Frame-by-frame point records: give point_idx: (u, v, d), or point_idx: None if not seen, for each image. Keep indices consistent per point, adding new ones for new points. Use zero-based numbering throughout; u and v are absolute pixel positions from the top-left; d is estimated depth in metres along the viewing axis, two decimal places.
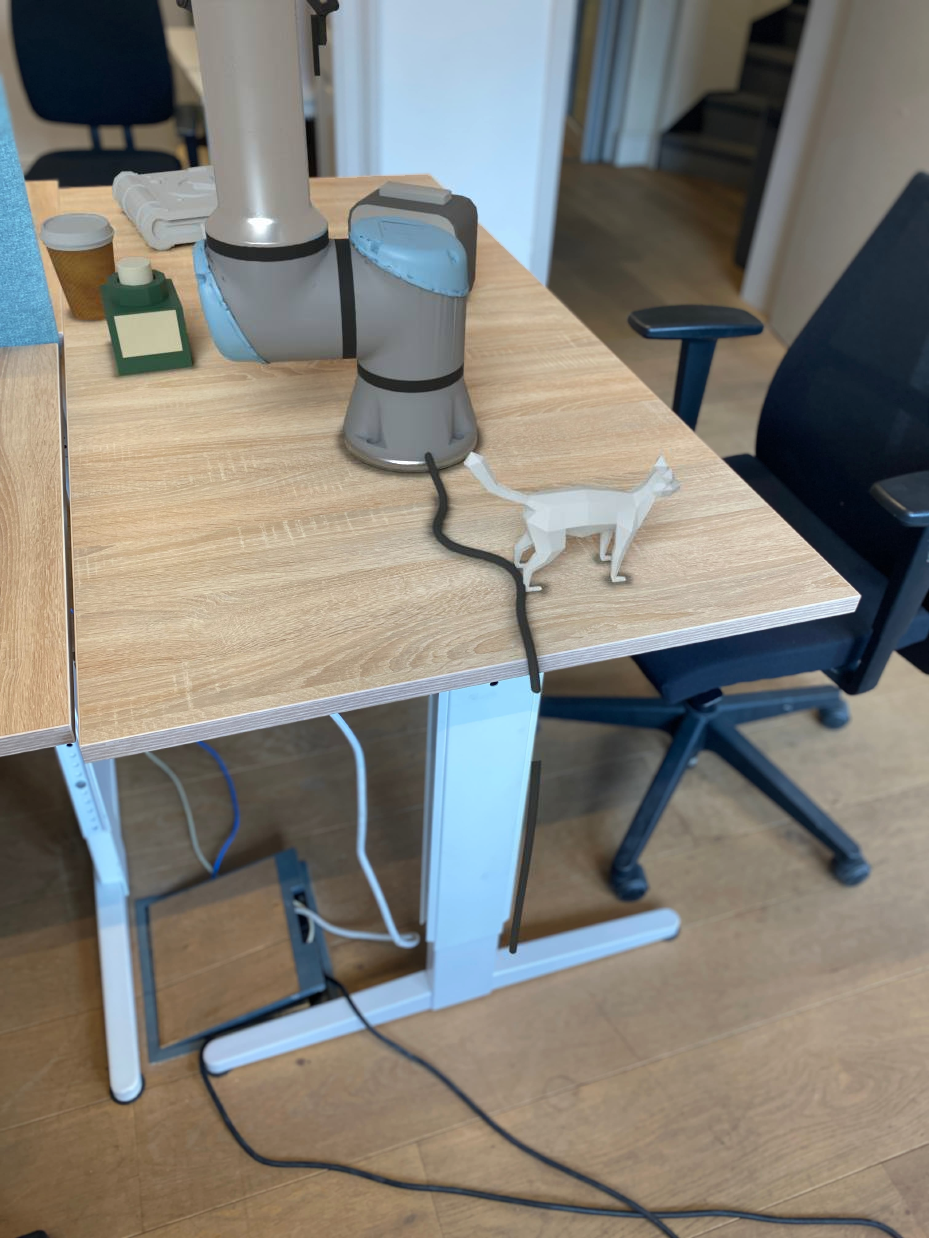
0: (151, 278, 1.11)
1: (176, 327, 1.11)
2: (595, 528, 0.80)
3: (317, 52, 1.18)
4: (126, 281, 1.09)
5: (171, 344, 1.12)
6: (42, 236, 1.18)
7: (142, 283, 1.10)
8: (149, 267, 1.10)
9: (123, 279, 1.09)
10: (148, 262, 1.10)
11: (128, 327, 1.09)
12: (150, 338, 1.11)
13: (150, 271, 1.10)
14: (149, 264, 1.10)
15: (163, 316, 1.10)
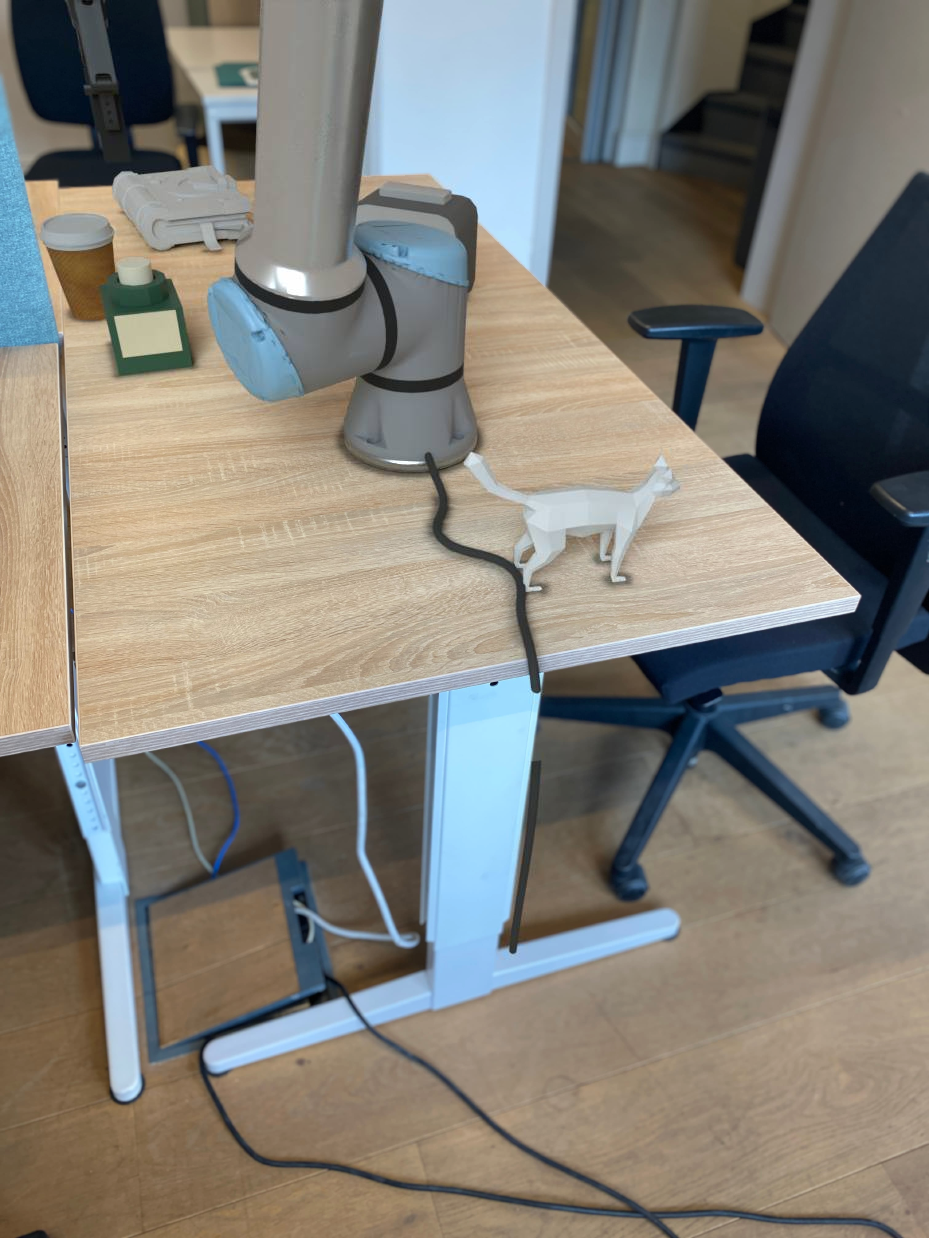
0: (151, 278, 1.11)
1: (176, 327, 1.11)
2: (595, 528, 0.80)
3: (100, 135, 0.95)
4: (126, 281, 1.09)
5: (171, 344, 1.12)
6: (42, 236, 1.18)
7: (142, 283, 1.10)
8: (149, 267, 1.10)
9: (123, 279, 1.09)
10: (148, 262, 1.10)
11: (128, 327, 1.09)
12: (150, 338, 1.11)
13: (150, 271, 1.10)
14: (149, 264, 1.10)
15: (163, 316, 1.10)
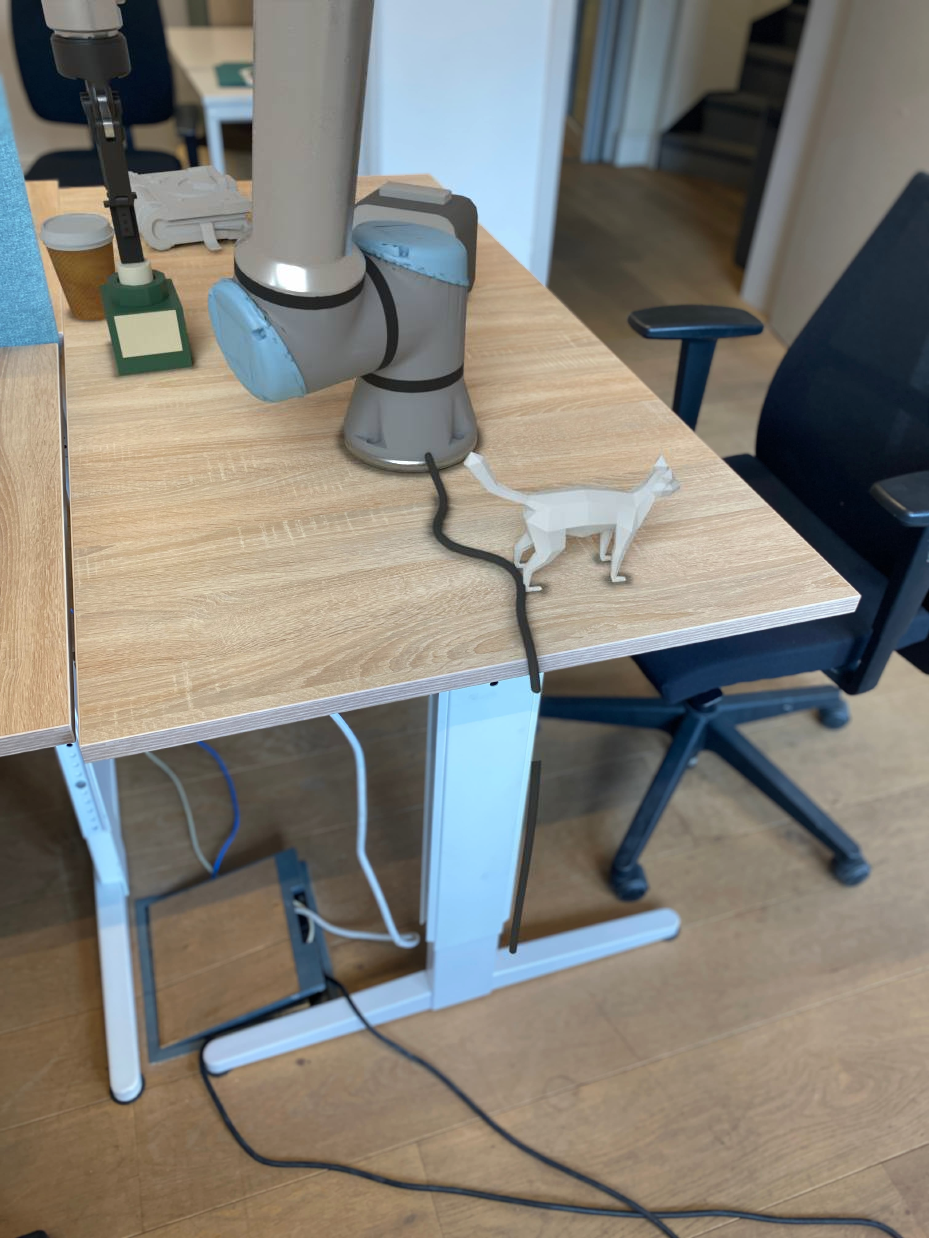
0: (151, 278, 1.11)
1: (176, 327, 1.11)
2: (595, 528, 0.80)
3: (116, 239, 1.07)
4: (126, 281, 1.09)
5: (171, 344, 1.12)
6: (42, 236, 1.18)
7: (142, 283, 1.10)
8: (149, 267, 1.10)
9: (123, 280, 1.09)
10: (148, 262, 1.10)
11: (128, 327, 1.09)
12: (150, 338, 1.11)
13: (150, 271, 1.10)
14: (149, 264, 1.10)
15: (163, 316, 1.10)
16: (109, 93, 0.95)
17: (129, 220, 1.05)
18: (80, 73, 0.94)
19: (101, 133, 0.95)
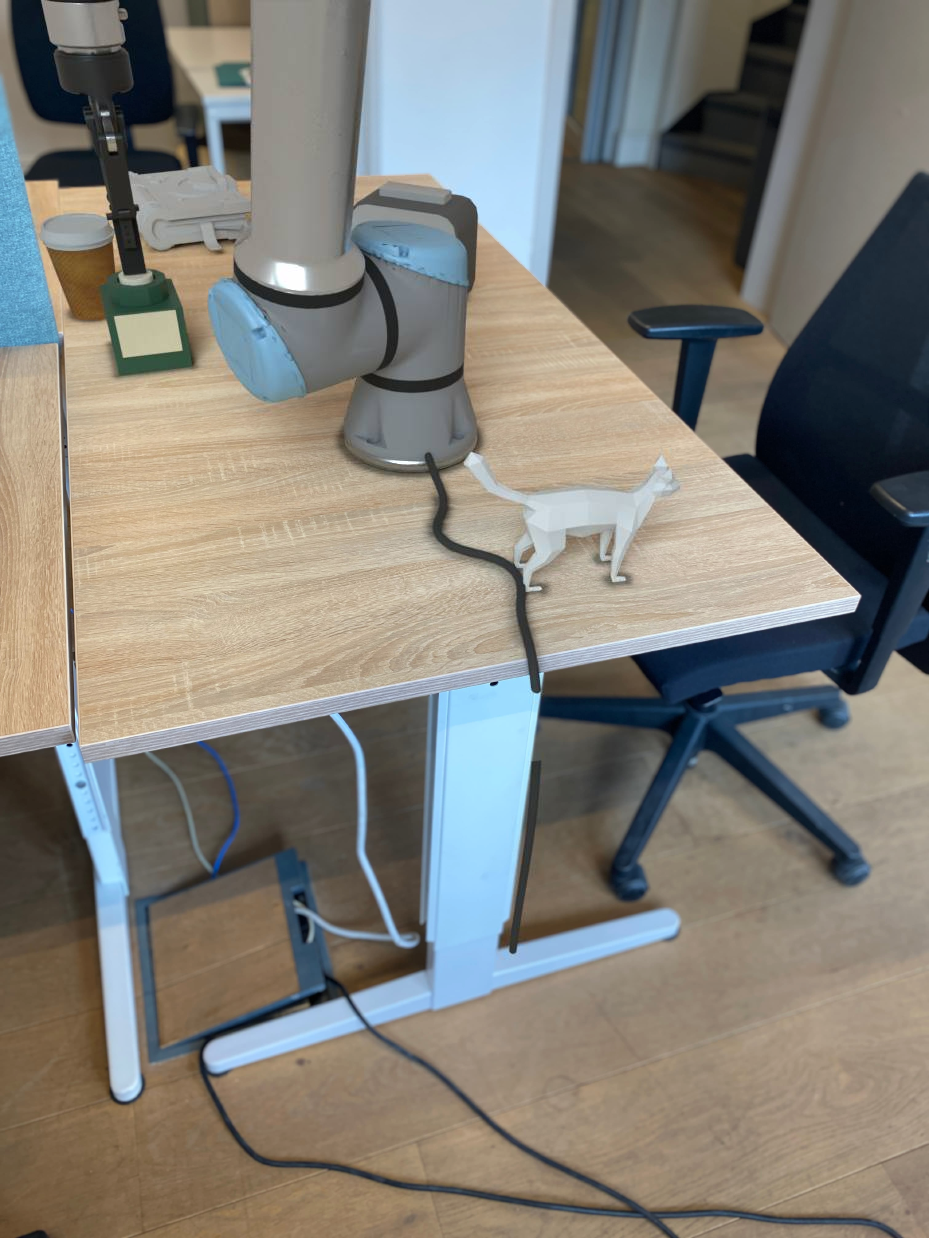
0: None
1: (176, 327, 1.11)
2: (595, 528, 0.80)
3: (119, 251, 1.08)
4: None
5: (171, 344, 1.12)
6: (42, 236, 1.18)
7: None
8: (151, 278, 1.11)
9: None
10: (150, 274, 1.11)
11: (128, 327, 1.09)
12: (150, 338, 1.11)
13: None
14: (151, 276, 1.11)
15: (163, 316, 1.10)
16: (112, 108, 0.96)
17: (131, 232, 1.06)
18: (83, 88, 0.94)
19: (104, 147, 0.96)
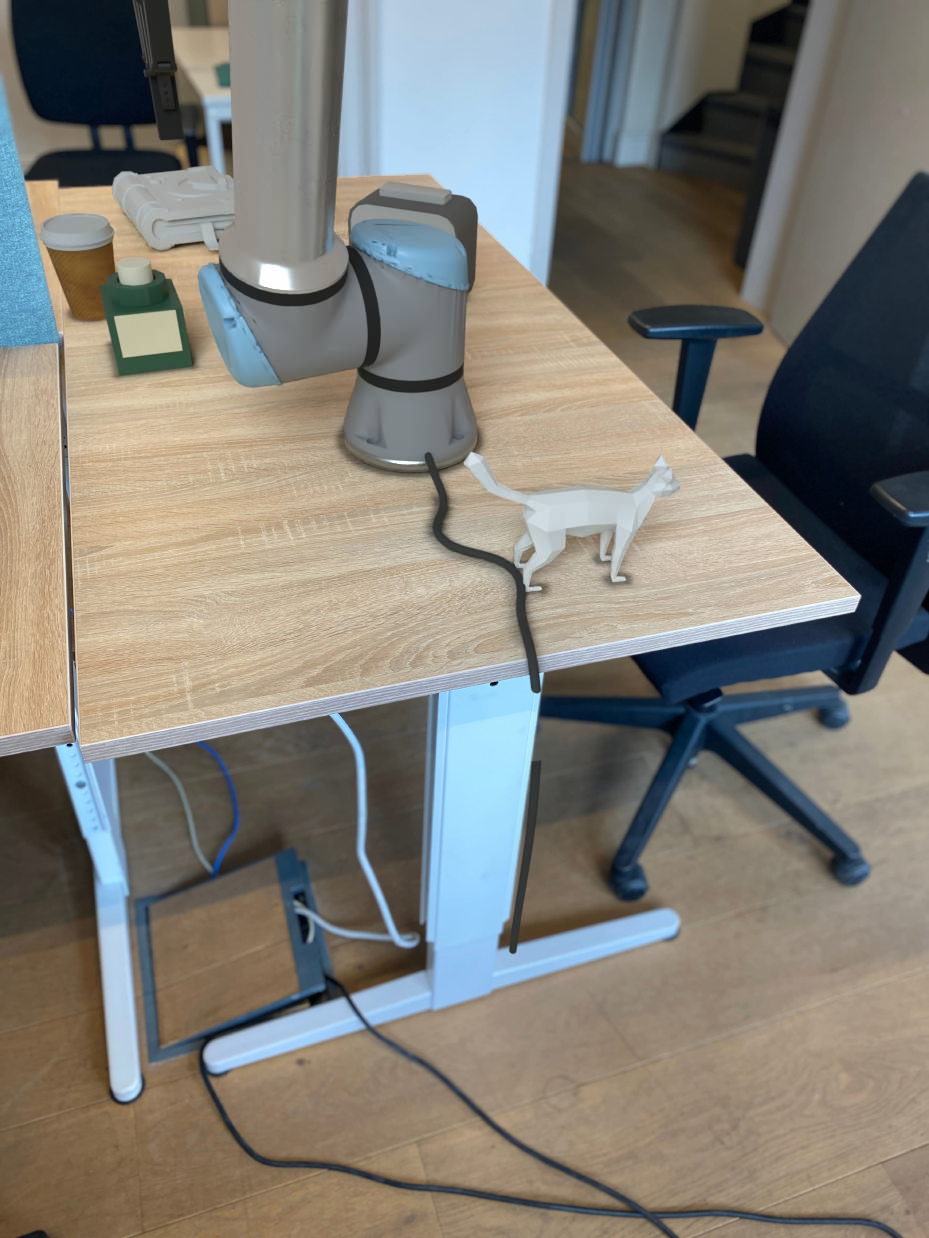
0: (151, 278, 1.11)
1: (176, 327, 1.11)
2: (595, 528, 0.80)
3: (156, 114, 1.04)
4: (126, 281, 1.09)
5: (171, 344, 1.12)
6: (42, 236, 1.18)
7: (142, 283, 1.10)
8: (149, 267, 1.10)
9: (123, 279, 1.09)
10: (148, 262, 1.10)
11: (128, 327, 1.09)
12: (150, 338, 1.11)
13: (150, 271, 1.10)
14: (149, 264, 1.10)
15: (163, 316, 1.10)
16: None
17: (170, 91, 1.02)
18: None
19: None
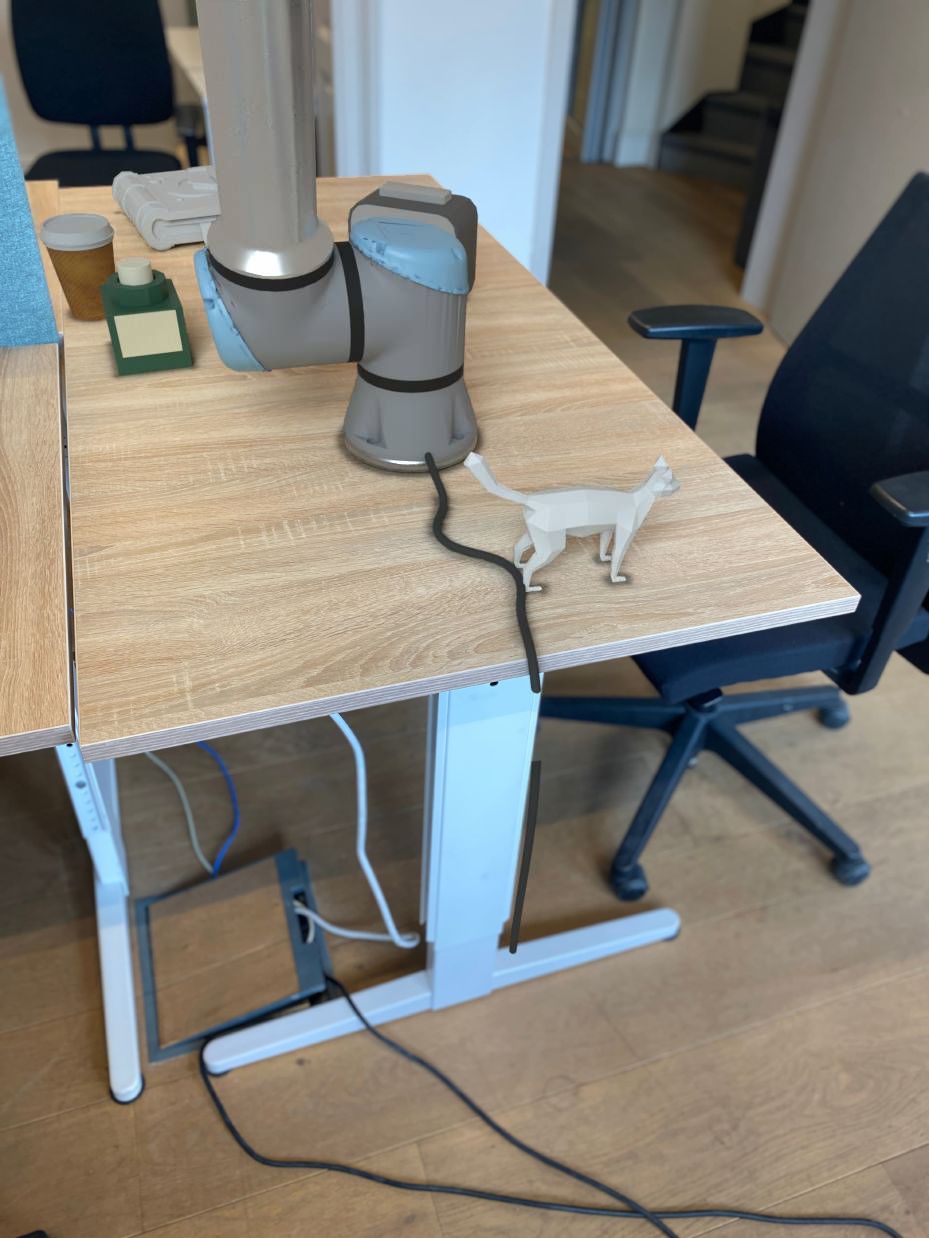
0: (151, 278, 1.11)
1: (176, 327, 1.11)
2: (595, 528, 0.80)
3: None
4: (126, 281, 1.09)
5: (171, 344, 1.12)
6: (42, 236, 1.18)
7: (142, 283, 1.10)
8: (149, 267, 1.10)
9: (123, 279, 1.09)
10: (148, 262, 1.10)
11: (128, 327, 1.09)
12: (150, 338, 1.11)
13: (150, 271, 1.10)
14: (149, 264, 1.10)
15: (163, 316, 1.10)
16: None
17: None
18: None
19: None
